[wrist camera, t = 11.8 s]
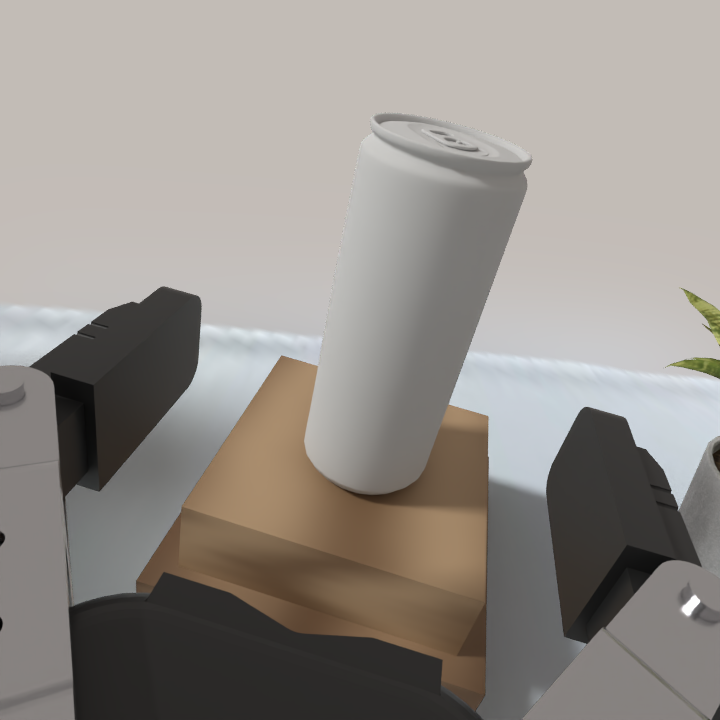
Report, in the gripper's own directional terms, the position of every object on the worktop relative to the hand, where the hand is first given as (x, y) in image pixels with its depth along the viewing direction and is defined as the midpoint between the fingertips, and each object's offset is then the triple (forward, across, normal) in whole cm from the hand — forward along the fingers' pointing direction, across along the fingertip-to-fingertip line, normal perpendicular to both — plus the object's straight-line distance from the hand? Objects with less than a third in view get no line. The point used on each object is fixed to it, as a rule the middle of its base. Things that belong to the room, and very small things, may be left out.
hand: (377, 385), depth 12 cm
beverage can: (+7, 0, +8) cm, 11 cm away
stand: (+7, 0, +13) cm, 15 cm away
